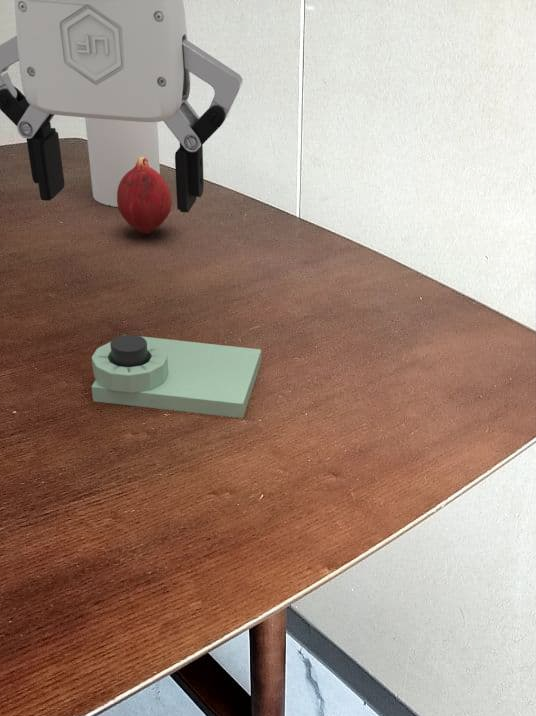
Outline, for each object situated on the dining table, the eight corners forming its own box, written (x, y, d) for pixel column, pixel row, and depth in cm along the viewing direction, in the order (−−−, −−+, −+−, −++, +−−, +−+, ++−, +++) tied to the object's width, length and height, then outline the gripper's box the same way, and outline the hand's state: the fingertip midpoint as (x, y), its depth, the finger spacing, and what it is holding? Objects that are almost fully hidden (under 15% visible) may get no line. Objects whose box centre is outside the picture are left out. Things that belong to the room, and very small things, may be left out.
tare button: (107, 367, 67) (105, 349, 66) (117, 350, 69) (116, 332, 68) (142, 371, 67) (141, 353, 66) (151, 354, 69) (150, 336, 68)
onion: (174, 243, 93) (171, 167, 88) (119, 244, 93) (113, 166, 87) (171, 224, 98) (168, 149, 93) (119, 224, 97) (113, 149, 92)
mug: (90, 174, 109) (81, 83, 102) (154, 173, 111) (149, 83, 104) (94, 208, 100) (84, 110, 93) (164, 206, 102) (159, 110, 95)
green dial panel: (87, 403, 68) (82, 369, 66) (120, 348, 75) (117, 316, 73) (242, 421, 67) (242, 387, 65) (261, 363, 74) (262, 331, 72)
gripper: (-81, -108, 48) (-21, 207, 59) (229, -87, 47) (232, 229, 58) (-26, -115, 53) (19, 173, 64) (251, -97, 52) (249, 193, 63)
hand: (120, 200), depth 61 cm, fingers open, 9 cm apart
